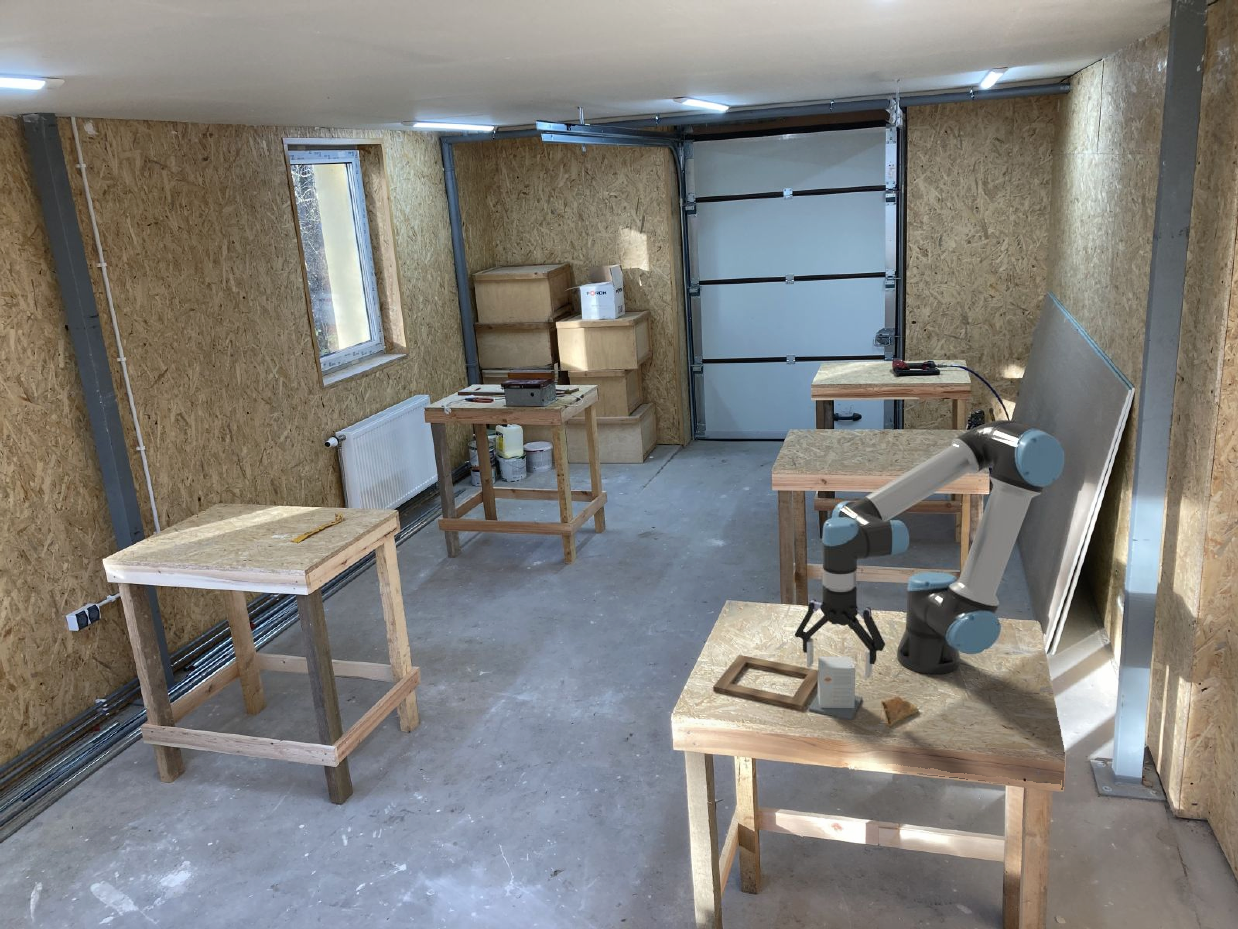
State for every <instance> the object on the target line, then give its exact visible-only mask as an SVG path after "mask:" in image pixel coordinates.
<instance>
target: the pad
mask: <svg viewBox="0 0 1238 929" xmlns="http://www.w3.org/2000/svg"><path fill="white" fill-rule="evenodd" d="M862 701H863V696H859V695H855V702H854V708H820V705H819V700H818V693H816V695H815V696H814V699H813V700H812V702H811V703H810V705H809V706H808V711H809V712H812V713H813V712H814V713H818V714H823V715H827V716H831V717H832V716H833V717H836V718H841V719H846V720H850V721H852V720H853V718H854V717H855V714H856V712H857V710H858V708H859V707H860V704H861V702H862Z"/></svg>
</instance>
